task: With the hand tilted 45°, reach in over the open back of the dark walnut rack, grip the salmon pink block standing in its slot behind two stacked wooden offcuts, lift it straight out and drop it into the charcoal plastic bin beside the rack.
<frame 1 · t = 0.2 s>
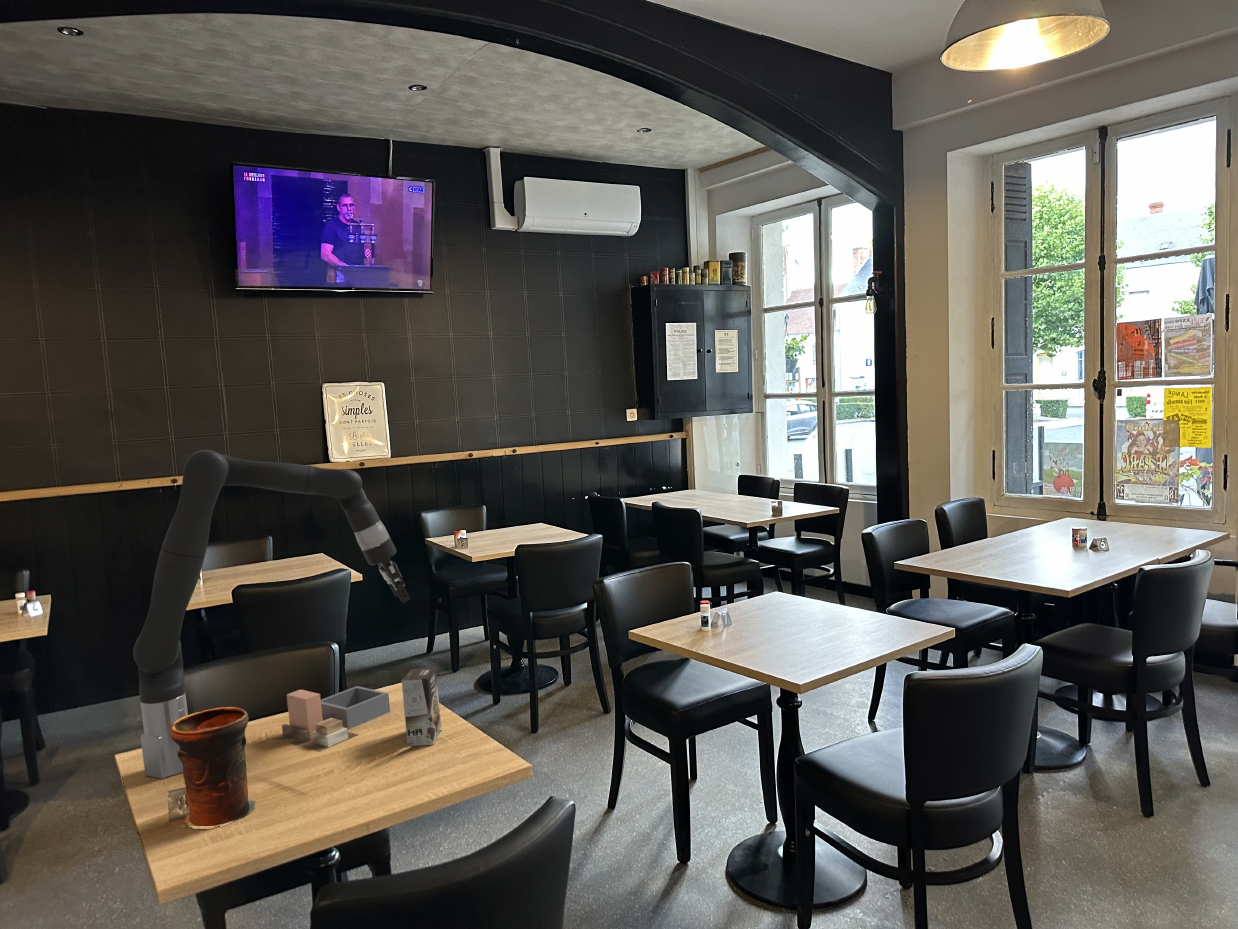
hand: (403, 598, 221), 31 cm above the table, tool tilted 20°, fingers open, 8 cm apart
upper offcut: (329, 730, 208), point 3 cm above the table, touching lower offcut
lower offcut: (330, 740, 209), point 1 cm above the table, touching upper offcut, walnut rack
walnut rack: (307, 737, 214), on the table
charcoal bin: (354, 720, 224), on the table
coffee box: (425, 739, 208), on the table
vessel: (220, 814, 176), on the table
salmon pink block: (307, 733, 214), point 1 cm above the table, touching walnut rack
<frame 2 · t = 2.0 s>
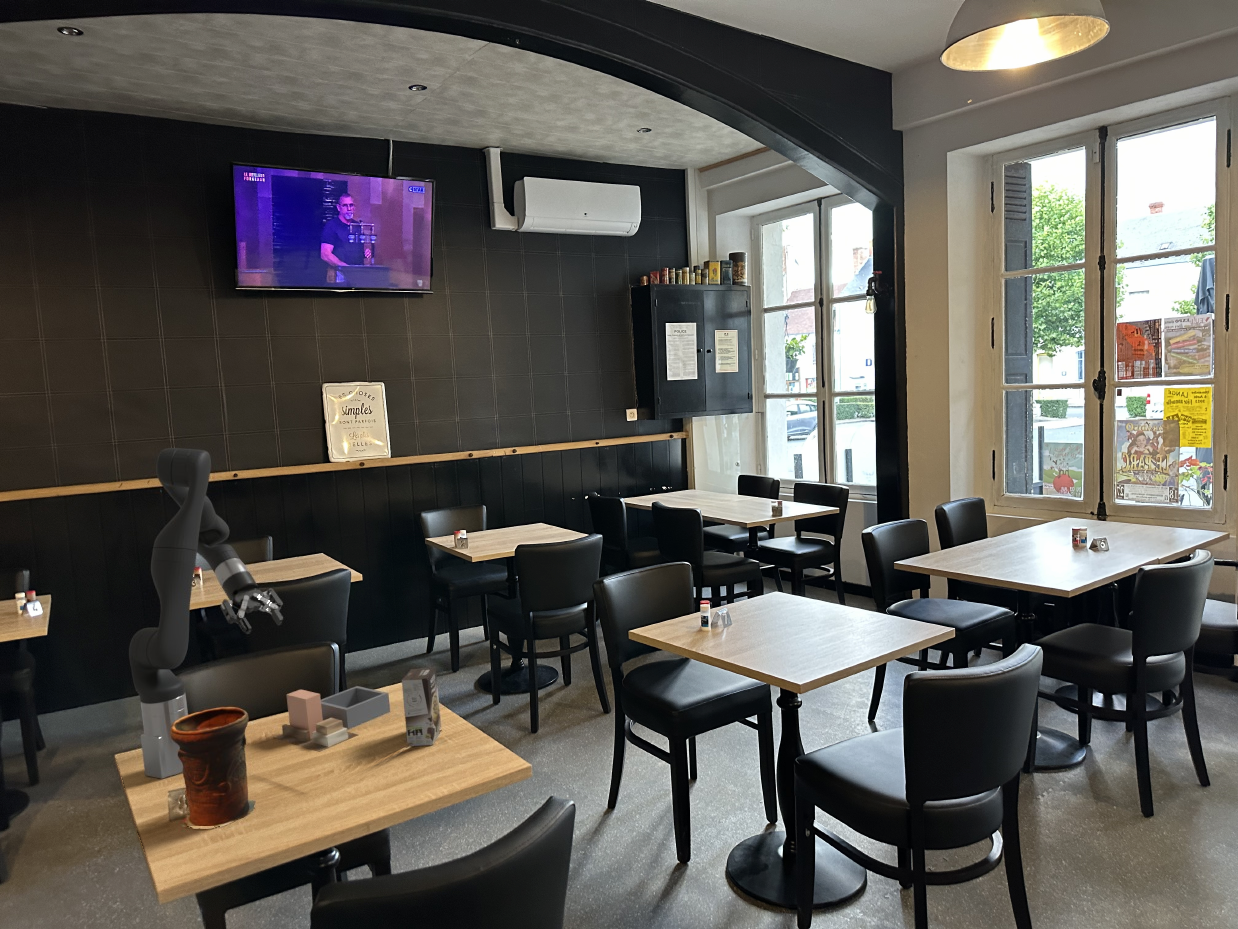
hand: (265, 627, 220), 26 cm above the table, tool tilted 45°, fingers open, 8 cm apart
nothing on the table moved.
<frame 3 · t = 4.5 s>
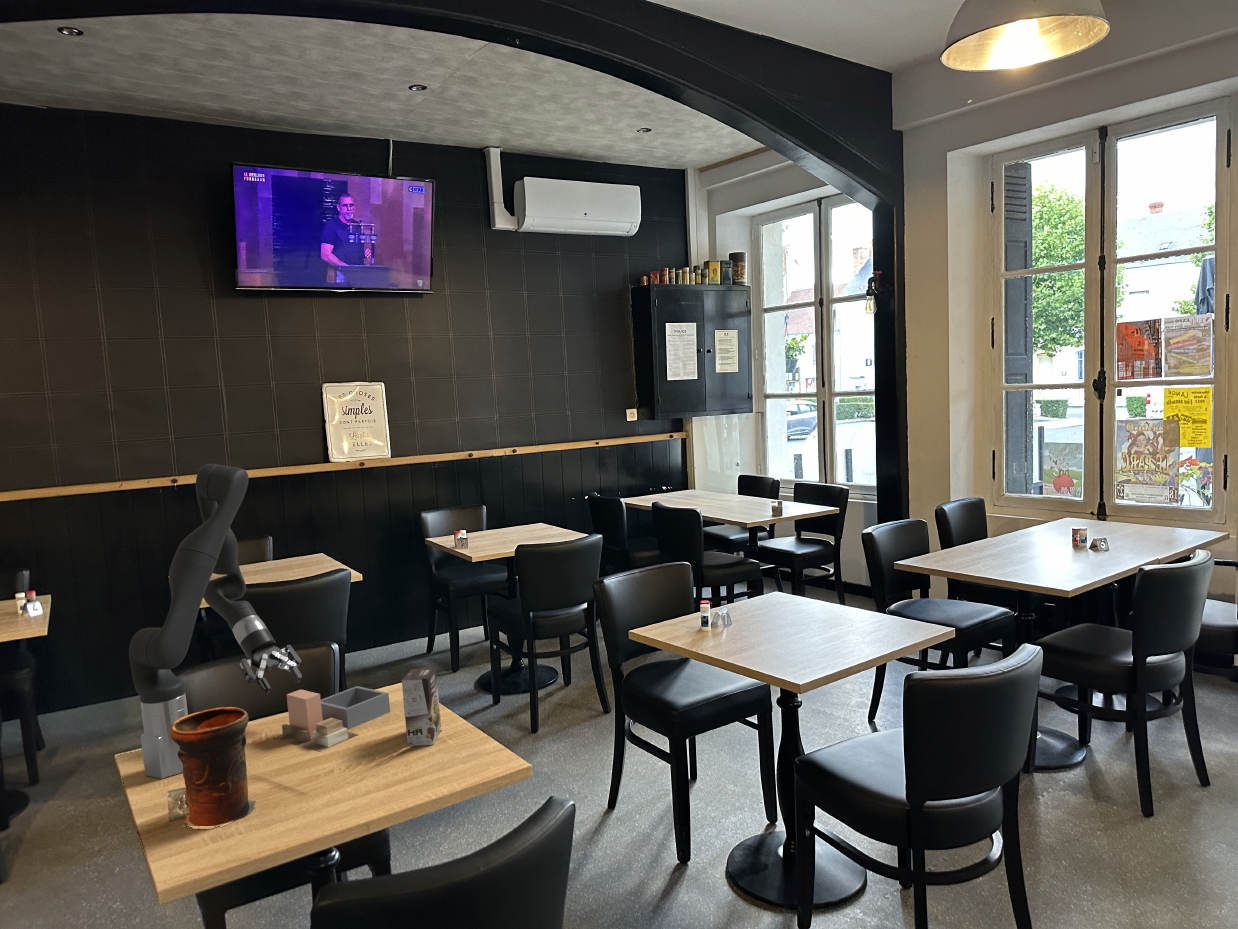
hand: (284, 686, 218), 12 cm above the table, tool tilted 45°, fingers open, 8 cm apart
nothing on the table moved.
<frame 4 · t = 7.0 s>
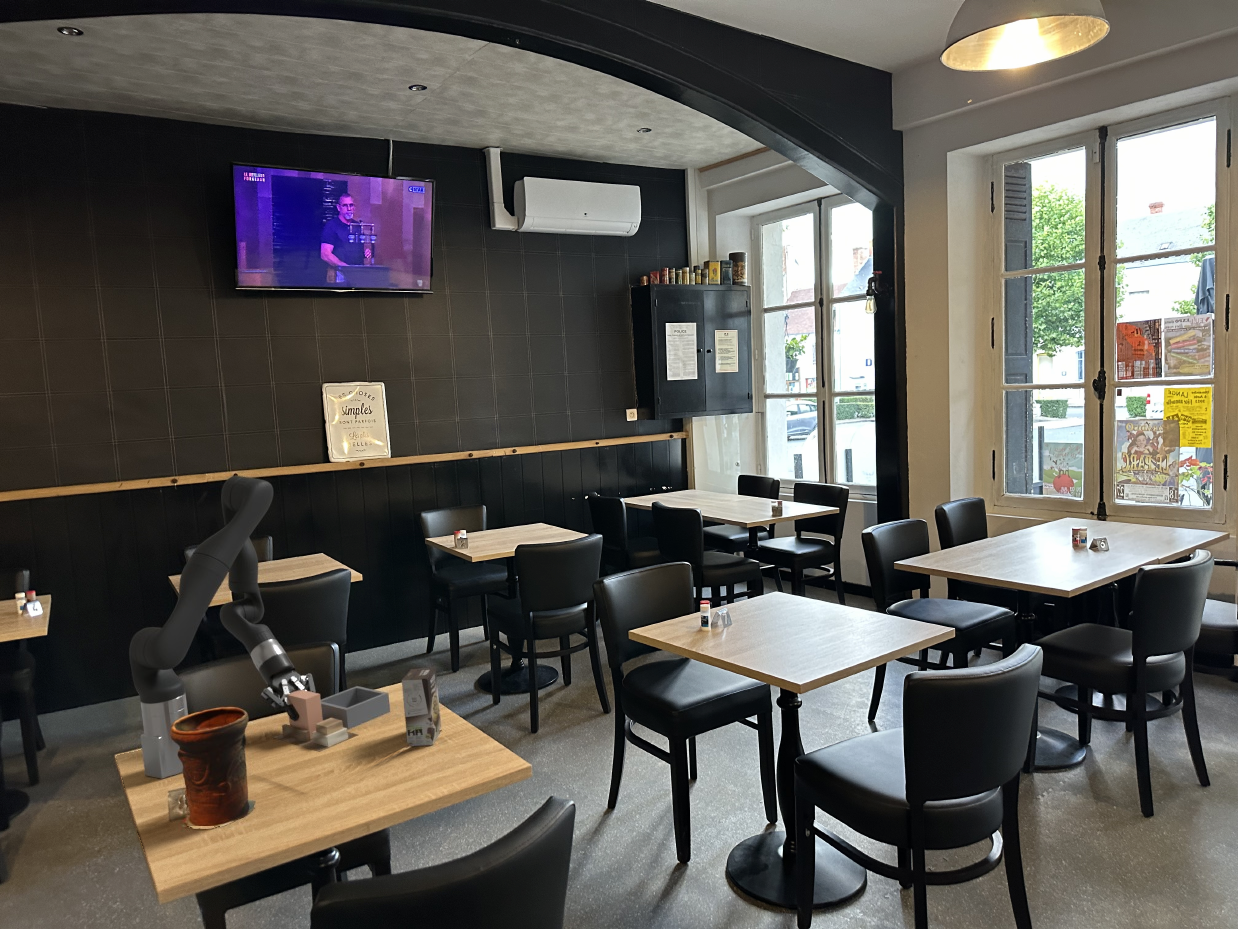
hand: (305, 715, 214), 6 cm above the table, tool tilted 45°, fingers closed on salmon pink block, 4 cm apart
salmon pink block: (307, 733, 214), point 1 cm above the table, touching gripper, walnut rack
everything else where it was.
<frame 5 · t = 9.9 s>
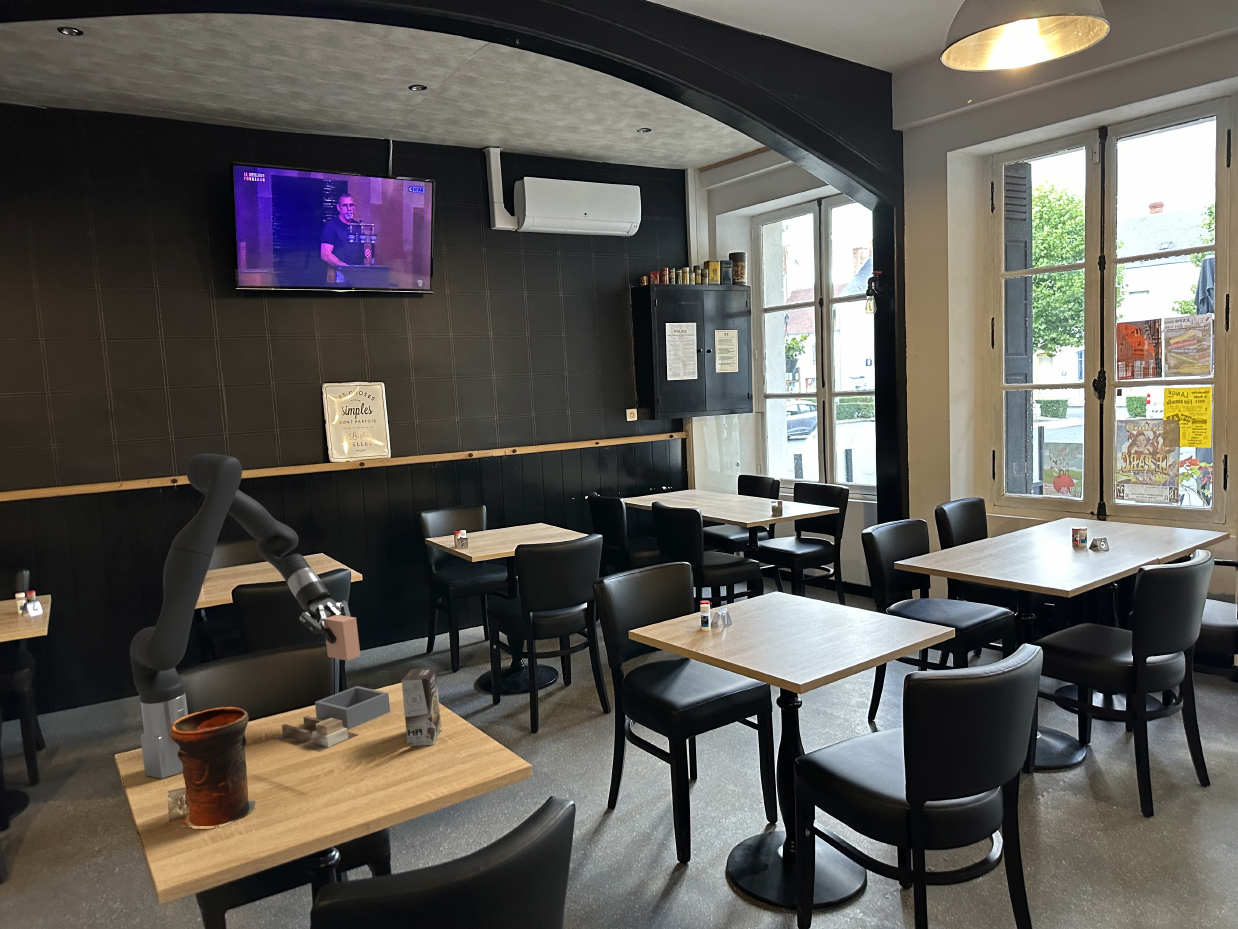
hand: (342, 639, 222), 22 cm above the table, tool tilted 45°, fingers closed on salmon pink block, 4 cm apart
salmon pink block: (344, 656, 222), point 17 cm above the table, touching gripper
everything else where it was.
when the fingers open (7 cm above the table, at t = 13.0 s): salmon pink block drops 2 cm, resting on charcoal bin.
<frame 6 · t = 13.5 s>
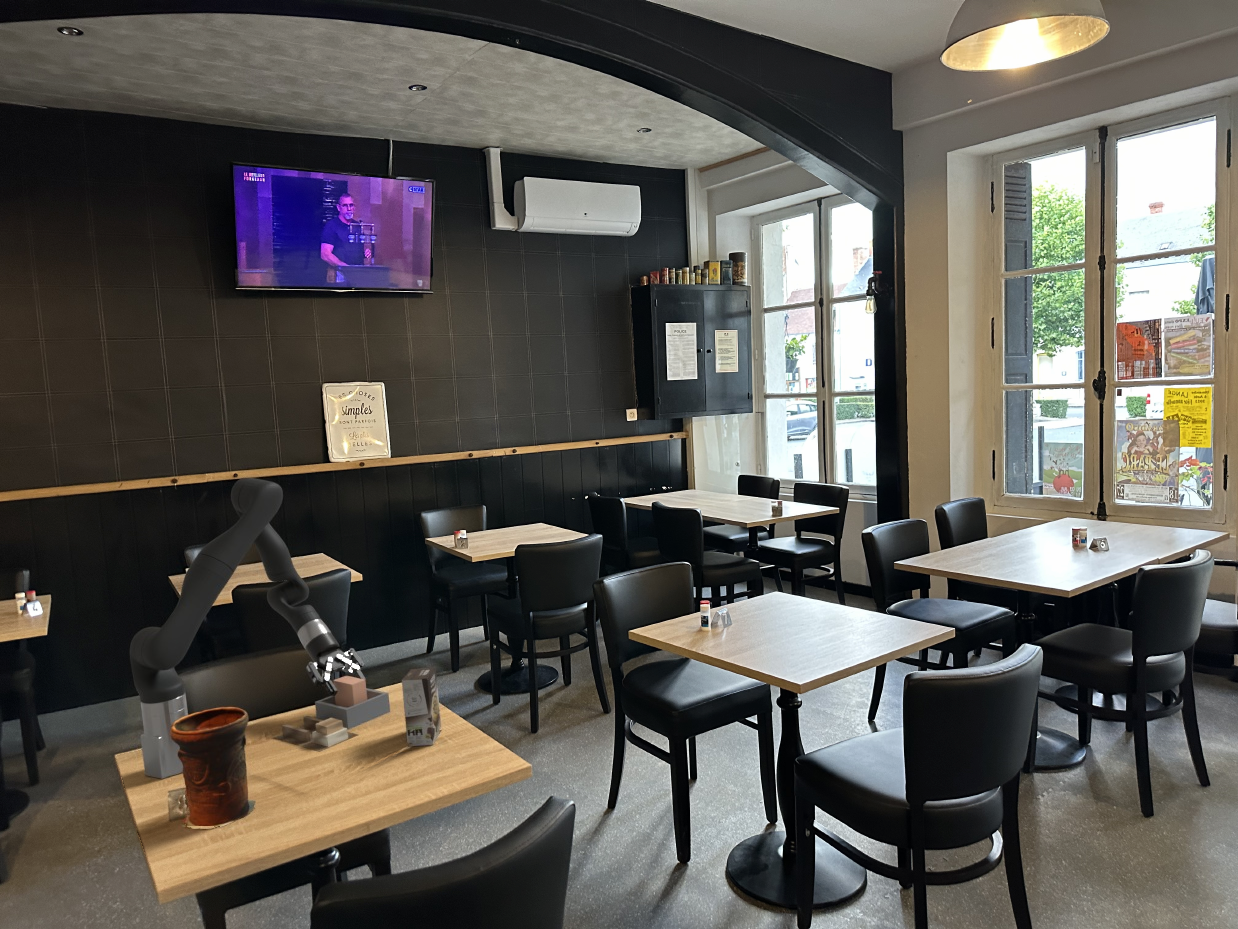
hand: (349, 689, 224), 8 cm above the table, tool tilted 45°, fingers open, 8 cm apart
salmon pink block: (353, 717, 224), point 1 cm above the table, touching charcoal bin
everything else where it was.
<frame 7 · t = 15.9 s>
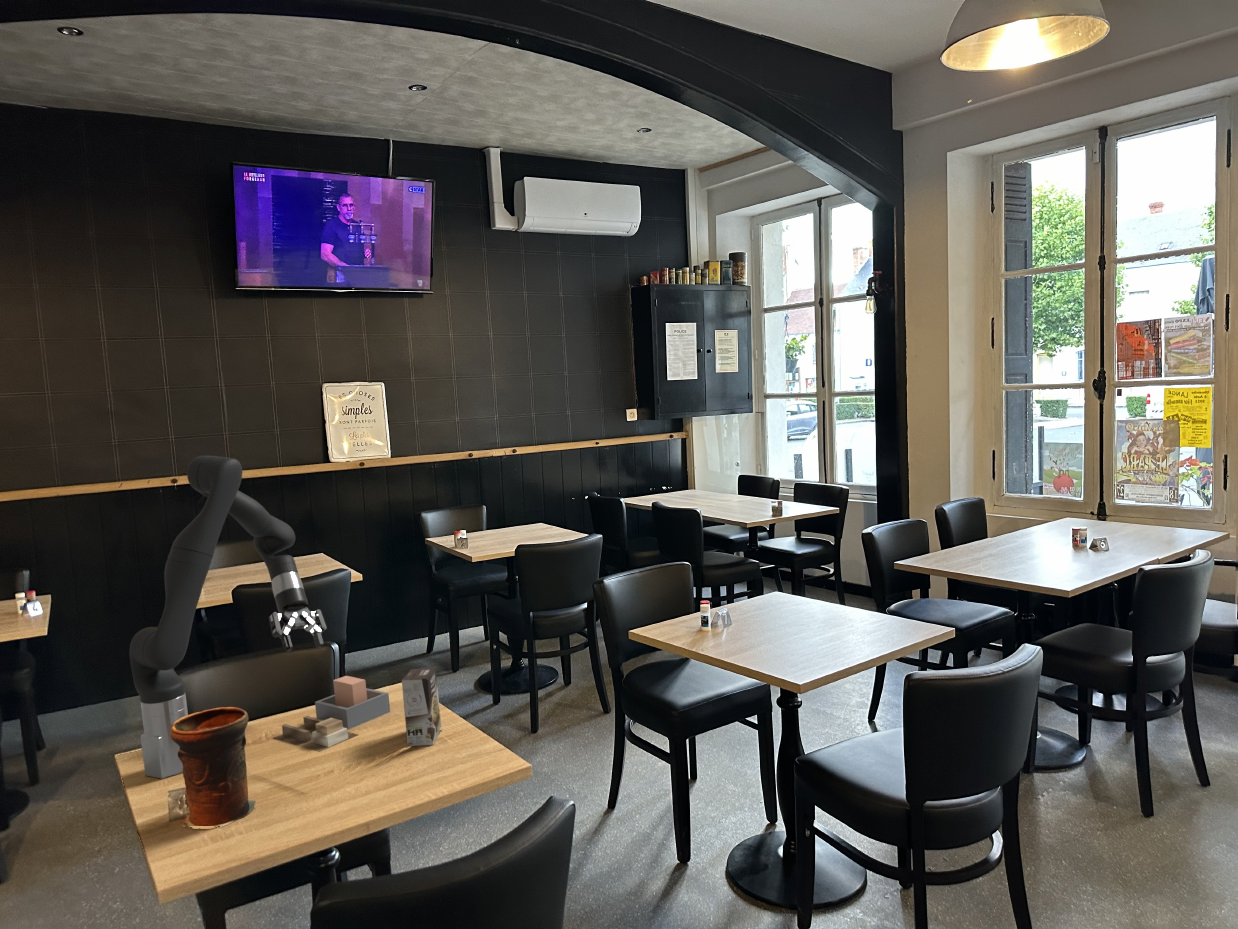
hand: (304, 648, 224), 19 cm above the table, tool tilted 35°, fingers open, 8 cm apart
nothing on the table moved.
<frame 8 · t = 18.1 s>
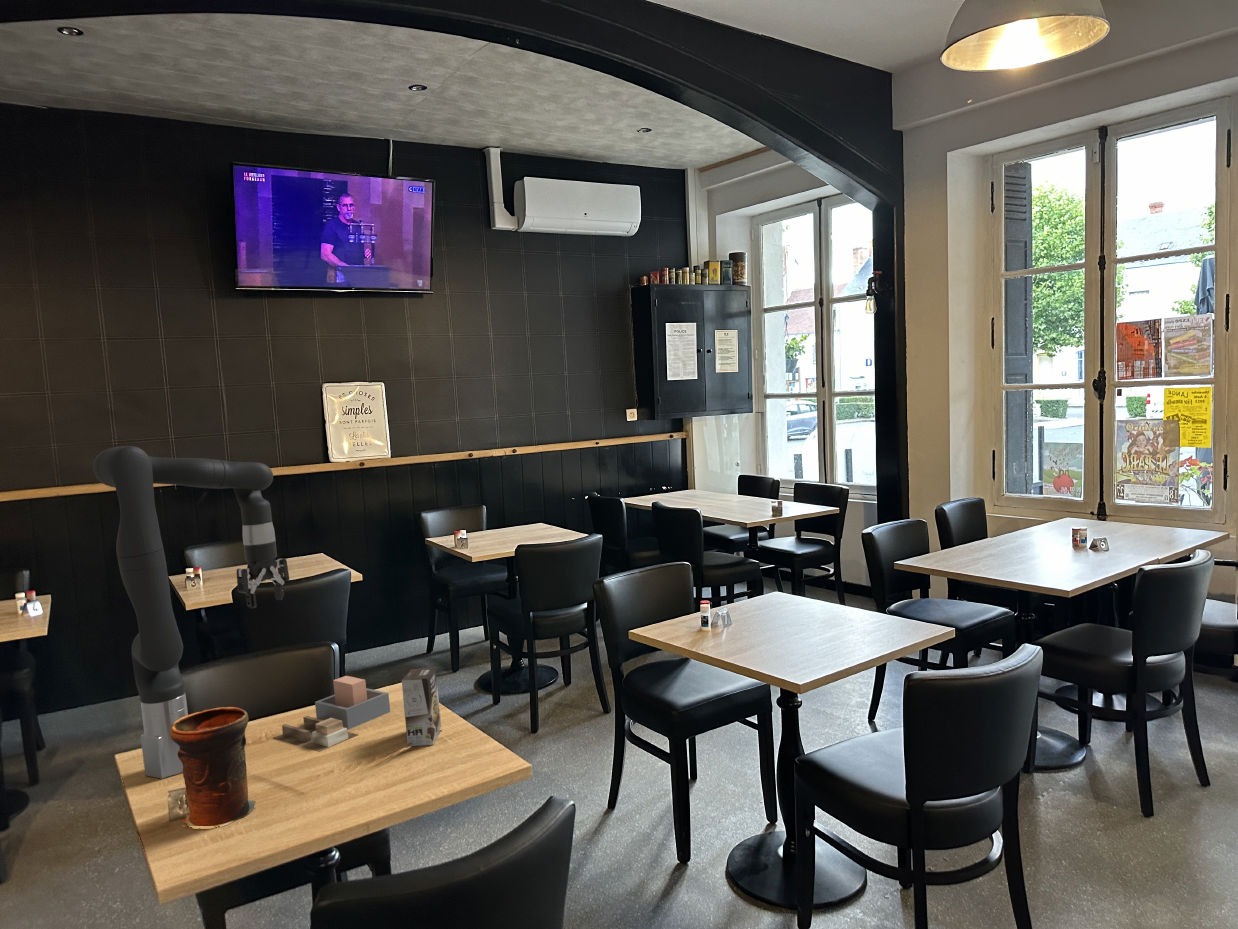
hand: (266, 603, 222), 32 cm above the table, tool pointing down, fingers open, 8 cm apart
nothing on the table moved.
at the end: salmon pink block inside the target area on the charcoal bin (0.3 cm from its centre), point 0.6 cm above the charcoal bin's base; the gripper is holding nothing; salmon pink block moved 12.9 cm from its start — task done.
